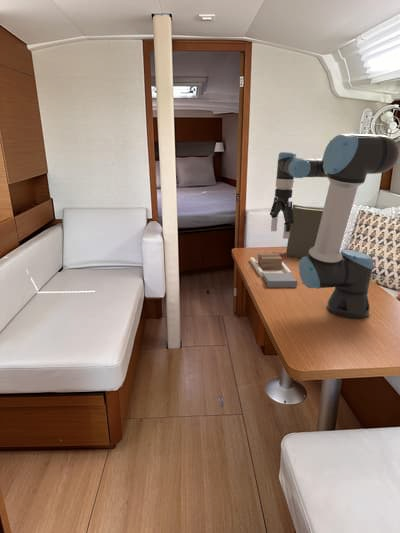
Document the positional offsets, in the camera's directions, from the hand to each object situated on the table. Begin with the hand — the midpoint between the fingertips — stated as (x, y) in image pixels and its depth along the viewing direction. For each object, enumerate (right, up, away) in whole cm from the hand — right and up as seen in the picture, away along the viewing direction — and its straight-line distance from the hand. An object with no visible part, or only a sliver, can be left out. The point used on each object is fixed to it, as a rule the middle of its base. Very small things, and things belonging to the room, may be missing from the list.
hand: (279, 234), depth 170 cm
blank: (-2, -15, +13) cm, 20 cm away
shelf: (-2, -17, +12) cm, 21 cm away
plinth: (-1, -22, -3) cm, 23 cm away
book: (+23, -10, +35) cm, 43 cm away
